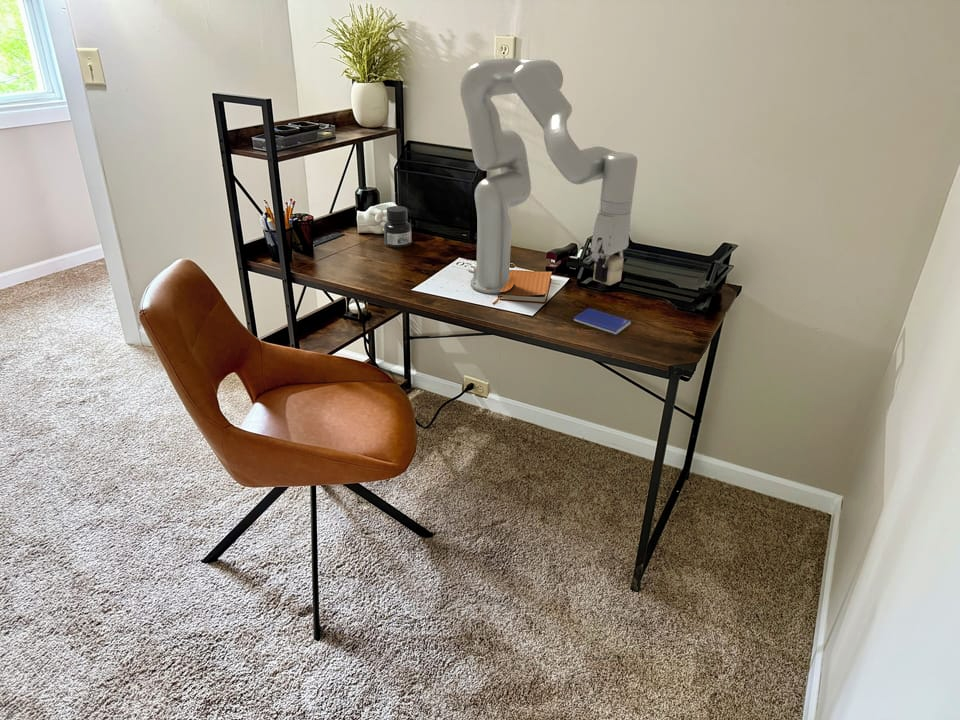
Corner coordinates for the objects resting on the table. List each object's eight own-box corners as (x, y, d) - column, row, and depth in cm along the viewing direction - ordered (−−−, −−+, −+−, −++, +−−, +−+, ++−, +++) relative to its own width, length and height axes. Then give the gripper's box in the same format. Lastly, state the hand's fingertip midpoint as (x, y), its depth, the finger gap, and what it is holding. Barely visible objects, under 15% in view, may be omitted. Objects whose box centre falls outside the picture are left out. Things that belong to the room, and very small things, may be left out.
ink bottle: (388, 250, 218) (386, 214, 213) (380, 241, 225) (378, 206, 220) (416, 246, 222) (415, 211, 216) (407, 238, 229) (406, 203, 223)
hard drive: (631, 320, 174) (589, 307, 180) (616, 330, 168) (573, 317, 175) (630, 325, 175) (588, 312, 181) (615, 336, 169) (573, 322, 175)
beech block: (592, 279, 169) (595, 257, 166) (604, 275, 172) (607, 252, 169) (609, 285, 166) (612, 262, 163) (620, 280, 169) (623, 257, 166)
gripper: (622, 197, 168) (613, 266, 176) (581, 210, 157) (574, 282, 165) (648, 203, 163) (638, 273, 172) (608, 217, 152) (599, 291, 161)
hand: (607, 277), depth 168 cm, fingers closed on beech block, 5 cm apart
